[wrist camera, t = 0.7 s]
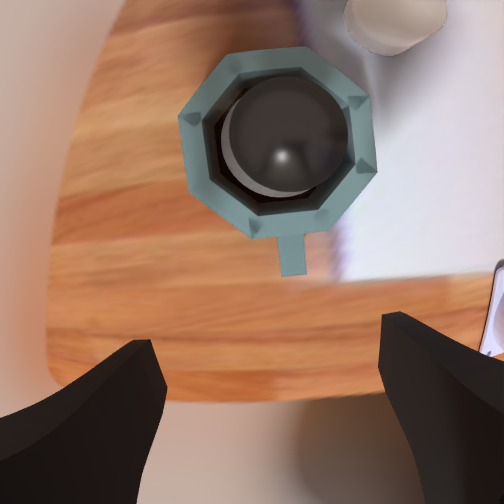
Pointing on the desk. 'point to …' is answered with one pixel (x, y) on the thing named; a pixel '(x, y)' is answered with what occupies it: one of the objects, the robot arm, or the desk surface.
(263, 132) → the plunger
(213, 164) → the grey-green octagonal bowl
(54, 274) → the desk surface
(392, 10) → the cream rounded block
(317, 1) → the desk surface
